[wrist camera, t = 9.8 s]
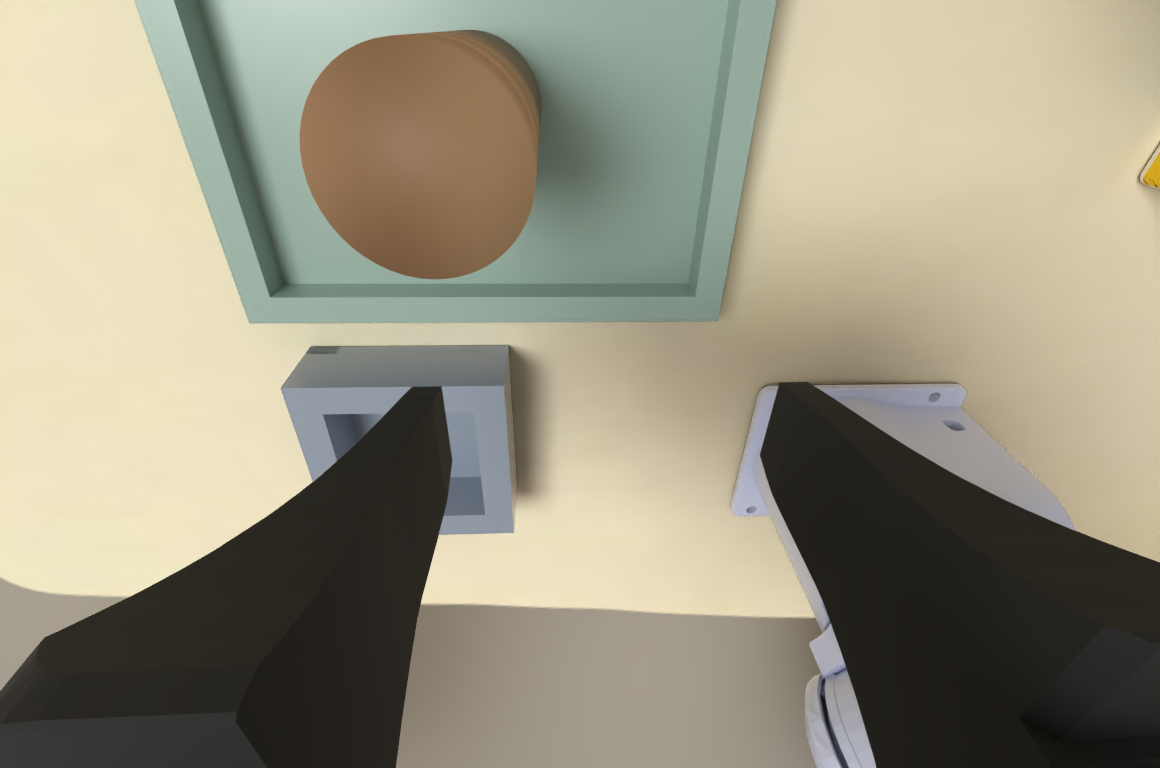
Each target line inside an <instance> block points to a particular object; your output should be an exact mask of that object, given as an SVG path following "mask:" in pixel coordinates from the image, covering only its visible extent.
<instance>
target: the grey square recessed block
mask: <svg viewBox="0 0 1160 768" xmlns="http://www.w3.org/2000/svg"><path fill="white" fill-rule="evenodd" d="M427 386H442V392H443V399H444V406H445V413H446V420H447V427H448V434H449V440H450V447H451V454H452V468H451V476H450V484H449V492H448V499H447V504H446V508H445V512H444V516H443V520H442V524H441V528H440V531H439V535H448V534H487V533H514V524H515V508H516V492H517V478H516V461H515V445H514V428H513V411H512V394H511V377H510V360H509V345H482V346H335V347H310V348H309V350H308V351H307V352H306V354H305V355H304V357H303V358H302V359H301V361H300V362H299V363H298V365H297V366H296V368H295V369H294V370H293V372H292V373H291V375H290V376H289V377H288V379H287V380H286V381H285V383H284V384H283V386H282V387H281V391H282V394H283V397H284V400H285V402H286V405H287V408H288V411H289V414H290V417H291V420H292V423H293V426H294V428H295V431H296V434H297V437H298V440H299V443H300V446H301V449H302V451H303V454H304V457H305V460H306V463H307V466H308V469H309V472H310V475H311V477H312V480H313V482H314V481H315V480H316V479H317V478H318V477H320V476H321V475H322V474H323V473H324V472H325V471H326V470H328V469H329V468H330V467H331V466H332V465H333V464H334V463H335V462H336V461H338V460H339V459H340V458H341V457H342V456H343V455H344V454H345V453H347V452H348V451H349V450H350V449H351V448H352V447H353V446H354V445H355V444H356V443H357V442H358V441H359V440H360V439H361V438H362V437H363V436H364V435H365V434H366V433H367V432H368V431H369V430H370V429H371V428H372V427H373V426H374V425H375V424H376V423H377V422H378V421H379V420H380V419H381V418H382V417H383V416H384V415H385V414H386V413H387V412H388V411H389V410H390V409H391V408H392V407H393V405H394V404H395V403H396V402H397V401H398V400H399V399H400V398H401V397H402V396H403V395H404V394H405V393H406V392H407V391H408V390H409V389H410V388H411V387H427Z"/></svg>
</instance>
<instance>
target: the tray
mask: <svg viewBox="0 0 1160 768" xmlns="http://www.w3.org/2000/svg"><path fill="white" fill-rule="evenodd" d="M134 1H135V4H136V7H137V10H138V13H139V15H140V18H141V21H142V24H143V27H144V29H145V32H146V35H147V38H148V41H149V43H150V46H151V49H152V52H153V55H154V57H155V60H156V63H157V66H158V69H159V71H160V74H161V77H162V80H163V83H164V85H165V88H166V91H167V94H168V97H169V99H170V102H171V105H172V108H173V111H174V114H175V116H176V119H177V122H178V125H179V128H180V130H181V133H182V136H183V139H184V142H185V144H186V147H187V150H188V153H189V156H190V158H191V161H192V164H193V167H194V170H195V172H196V175H197V178H198V181H199V184H200V186H201V189H202V192H203V195H204V198H205V200H206V203H207V206H208V209H209V212H210V214H211V217H212V220H213V223H214V226H215V228H216V231H217V234H218V237H219V240H220V242H221V245H222V248H223V251H224V254H225V256H226V259H227V262H228V265H229V268H230V270H231V273H232V276H233V279H234V282H235V284H236V287H237V290H238V293H239V296H240V298H241V301H242V304H243V307H244V310H245V312H246V315H247V318H248V321H249V323H446V322H671V321H718V318H719V312H720V307H721V302H722V296H723V291H724V285H725V280H726V274H727V269H728V263H729V258H730V252H731V247H732V242H733V236H734V231H735V225H736V220H737V214H738V209H739V203H740V198H741V192H742V187H743V182H744V176H745V171H746V165H747V160H748V154H749V149H750V143H751V138H752V132H753V127H754V122H755V116H756V111H757V105H758V100H759V94H760V89H761V83H762V78H763V73H764V67H765V62H766V56H767V51H768V45H769V40H770V34H771V29H772V23H773V18H774V13H775V7H776V2H777V0H134ZM456 30H479V31H484V32H488V33H491V34H494V35H496V36H498V37H500V38H502V39H503V40H505V41H506V42H508V43H509V44H511V45H512V46H513V47H514V48H515V49H516V50H517V51H518V52H519V53H520V54H521V55H522V56H523V57H524V59H525V60H526V62H527V63H528V64H529V66H530V68H531V70H532V72H533V74H534V76H535V79H536V81H537V84H538V88H539V91H540V98H541V121H540V134H539V148H538V161H537V174H536V188H535V195H534V200H533V205H532V209H531V211H530V214H529V217H528V220H527V222H526V224H525V226H524V228H523V230H522V232H521V233H520V235H519V236H518V238H517V239H516V241H515V242H514V243H513V245H512V246H511V247H510V248H509V249H508V250H507V251H506V252H505V253H504V254H503V255H502V256H500V257H499V258H498V259H497V260H496V261H494V262H493V263H491V264H489V265H488V266H486V267H484V268H483V269H480V270H478V271H476V272H474V273H471V274H468V275H464V276H461V277H456V278H449V279H422V278H415V277H410V276H406V275H402V274H399V273H396V272H393V271H390V270H388V269H386V268H384V267H382V266H379V265H377V264H376V263H374V262H372V261H371V260H369V259H367V258H366V257H364V256H363V255H361V254H360V253H359V252H357V251H356V250H355V249H353V248H352V247H351V246H350V245H349V244H348V243H347V242H346V241H345V240H343V239H342V238H341V237H340V236H339V234H338V233H337V232H336V231H335V230H334V229H333V228H332V226H331V225H330V224H329V222H328V221H327V220H326V218H325V217H324V215H323V214H322V212H321V211H320V209H319V207H318V205H317V204H316V202H315V200H314V198H313V196H312V193H311V191H310V189H309V186H308V184H307V181H306V177H305V174H304V170H303V167H302V160H301V154H300V125H301V117H302V113H303V109H304V105H305V102H306V99H307V97H308V95H309V92H310V90H311V88H312V86H313V84H314V83H315V81H316V80H317V78H318V76H319V75H320V73H321V72H322V71H323V70H324V69H325V68H326V67H327V66H328V64H329V63H330V62H331V61H332V60H334V59H335V58H336V57H337V56H339V55H340V54H341V53H342V52H344V51H346V50H347V49H349V48H351V47H353V46H355V45H356V44H359V43H361V42H364V41H367V40H370V39H373V38H378V37H384V36H390V35H403V34H416V33H430V32H443V31H456Z"/></svg>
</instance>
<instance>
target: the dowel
mask: <svg viewBox="0 0 1160 768" xmlns="http://www.w3.org/2000/svg"><path fill="white" fill-rule="evenodd" d="M540 121H541V98H540V91H539V88H538V84H537V81H536V79H535V76H534V74H533V72H532V70H531V68H530V66H529V64H528V63H527V62H526V60H525V59H524V57H523V56H522V55H521V54H520V53H519V52H518V51H517V50H516V49H515V48H514V47H513V46H512V45H511V44H509V43H508V42H506V41H505V40H503V39H502V38H500V37H498V36H496V35H494V34H491V33H488V32H484V31H479V30H456V31H443V32H430V33H416V34H403V35H390V36H384V37H378V38H373V39H370V40H367V41H364V42H361V43H359V44H356V45H355V46H353V47H351V48H349V49H347V50H346V51H344V52H342V53H341V54H340V55H339V56H337V57H336V58H335V59H334V60H332V61H331V62H330V63H329V64H328V66H327V67H326V68H325V69H324V70H323V71H322V72H321V73H320V75H319V76H318V78H317V80H316V81H315V83H314V84H313V86H312V88H311V90H310V92H309V95H308V97H307V99H306V102H305V105H304V109H303V113H302V117H301V125H300V154H301V160H302V167H303V170H304V174H305V177H306V181H307V184H308V186H309V189H310V191H311V193H312V196H313V198H314V200H315V202H316V204H317V205H318V207H319V209H320V211H321V212H322V214H323V215H324V217H325V218H326V220H327V221H328V222H329V224H330V225H331V226H332V228H333V229H334V230H335V231H336V232H337V233H338V234H339V236H340V237H341V238H342V239H343V240H345V241H346V242H347V243H348V244H349V245H350V246H351V247H352V248H353V249H355V250H356V251H357V252H359V253H360V254H361V255H363V256H364V257H366V258H367V259H369V260H371V261H372V262H374V263H376V264H377V265H379V266H382V267H384V268H386V269H388V270H390V271H393V272H396V273H399V274H402V275H406V276H410V277H415V278H422V279H449V278H456V277H461V276H464V275H468V274H471V273H474V272H476V271H478V270H480V269H483V268H484V267H486V266H488V265H489V264H491V263H493V262H494V261H496V260H497V259H498V258H499V257H500V256H502V255H503V254H504V253H505V252H506V251H507V250H508V249H509V248H510V247H511V246H512V245H513V243H514V242H515V241H516V239H517V238H518V236H519V235H520V233H521V232H522V230H523V228H524V226H525V224H526V222H527V220H528V217H529V214H530V211H531V209H532V205H533V200H534V195H535V188H536V174H537V161H538V148H539V134H540Z"/></svg>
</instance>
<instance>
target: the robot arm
mask: <svg viewBox="0 0 1160 768" xmlns="http://www.w3.org/2000/svg"><path fill="white" fill-rule="evenodd" d="M933 393H934V394H933ZM931 394H933V395H932V396H930V395H931ZM966 394H967V392H966V389H964V388H963V387H962V386H961V385H960V384H871V385H811V384H809V383H807V382H792V383H779V386H767V387H765V388H763V389H762V390H761V391H760V392H759V394H758V398H757V402H756V406H755V410H754V414H753V418H752V422H751V426H750V430H749V434H748V437H747V441H746V445H745V449H744V453H743V457H742V461H741V465H740V469H739V473H738V477H737V481H736V485H735V489H734V493H733V497H732V501H731V505H730V506H731V510H732V513H733V514H734V515H736V516H766V515H770V518H771V520H772V522H773V524H774V526H775V529H776V531H777V533H778V535H779V537H780V540H781V542H782V544H783V546H784V549H785V551H786V553H787V555H788V557H789V560H790V562H791V564H792V566H793V568H794V571H795V573H796V575H797V577H798V579H799V582H800V584H801V586H802V588H803V591H804V593H805V595H806V597H807V599H808V602H809V604H810V606H811V608H812V610H813V613H814V615H815V617H816V619H817V621H818V624H819V626H820V628H821V630H822V633H823V634H822V635H820V636H819V637H818V638H816V639H815V640H813V641H812V642H810V644H809V645H810V648H811V650H812V652H813V655H814V657H815V659H816V662H817V664H818V667H819V669H820V671H821V673H820V674H818V675H816V676H814V677H813V678H812V679H811V680H810V681H809V682H808V684H807V687H806V694H805V708H806V711H805V724H806V731H807V736H808V740H809V745H810V748H811V751H812V755H813V757H814V761H815V763H816V766H817V768H1160V562H1157V561H1154V560H1151V559H1148V558H1146V557H1143V556H1140V555H1137V554H1135V553H1132V552H1129V551H1127V550H1124V549H1121V548H1118V547H1116V546H1113V545H1110V544H1108V543H1105V542H1102V541H1100V540H1097V539H1095V538H1092V537H1090V536H1087V535H1085V534H1082V533H1080V532H1077V531H1076V530H1075V528H1074V526H1073V523H1072V521H1071V519H1070V517H1069V516H1068V514H1067V512H1066V511H1065V509H1064V507H1063V506H1062V505H1061V503H1060V502H1059V501H1058V499H1057V498H1056V497H1055V496H1054V495H1053V494H1052V493H1051V492H1050V491H1049V490H1048V489H1047V488H1046V487H1045V486H1044V485H1043V484H1042V483H1041V482H1040V481H1039V480H1038V479H1037V478H1036V477H1034V476H1033V475H1032V474H1031V473H1030V472H1029V471H1028V470H1027V469H1026V468H1025V467H1024V466H1023V465H1022V464H1021V463H1019V462H1018V461H1017V460H1016V459H1015V458H1014V457H1013V456H1012V455H1011V454H1010V453H1009V452H1008V451H1007V450H1006V449H1004V448H1003V447H1002V446H1001V445H1000V444H999V443H998V442H997V441H996V440H995V439H994V438H993V437H992V436H990V435H989V434H988V433H987V432H986V431H985V430H984V429H983V428H982V427H981V426H980V425H979V424H978V423H977V422H975V421H974V420H973V419H972V418H971V417H970V416H969V415H968V414H967V413H966V412H965V411H964V410H963V409H962V408H960V407H961V405H962V403H963V401H964V399H965V397H966ZM451 468H452V454H451V447H450V440H449V434H448V427H447V420H446V413H445V406H444V399H443V392H442V386H427V387H411V388H410V389H409V390H408V391H407V392H406V393H405V394H404V395H403V396H402V397H401V398H400V399H399V400H398V401H397V402H396V403H395V404H394V405H393V407H392V408H391V409H390V410H389V411H388V412H387V413H386V414H385V415H384V416H383V417H382V418H381V419H380V420H379V421H378V422H377V423H376V424H375V425H374V426H373V427H372V428H371V429H370V430H369V431H368V432H367V433H366V434H365V435H364V436H363V437H362V438H361V439H360V440H359V441H358V442H357V443H356V444H355V445H354V446H353V447H352V448H351V449H350V450H349V451H348V452H347V453H345V454H344V455H343V456H342V457H341V458H340V459H339V460H338V461H336V462H335V463H334V464H333V465H332V466H331V467H330V468H329V469H328V470H326V471H325V472H324V473H323V474H322V475H321V476H320V477H318V478H317V479H316V480H315V481H314V482H312V483H311V484H310V485H309V486H307V487H306V488H305V489H303V490H302V491H301V492H300V493H298V494H297V495H296V496H294V497H293V498H292V499H290V500H289V501H288V502H286V503H285V504H284V505H282V506H281V507H279V508H278V509H277V510H275V511H274V512H273V513H271V514H270V515H268V516H267V517H265V518H264V519H262V520H261V521H259V522H258V523H256V524H255V525H253V526H252V527H250V528H248V529H247V530H245V531H244V532H242V533H241V534H239V535H238V536H236V537H235V538H233V539H231V540H230V541H228V542H227V543H225V544H224V545H222V546H221V547H219V548H218V549H216V550H214V551H213V552H211V553H209V554H207V555H206V556H204V557H202V558H201V559H199V560H197V561H195V562H194V563H192V564H190V565H188V566H187V567H185V568H183V569H181V570H180V571H178V572H176V573H174V574H172V575H170V576H169V577H167V578H165V579H163V580H161V581H159V582H158V583H156V584H154V585H152V586H150V587H148V588H146V589H144V590H142V591H140V592H139V593H137V594H135V595H133V596H131V597H129V598H127V599H125V600H123V601H121V602H118V603H116V604H114V605H112V606H110V607H108V608H106V609H104V610H102V611H100V612H98V613H96V614H94V615H92V616H89V617H87V618H85V619H83V620H81V621H79V622H77V623H75V624H73V625H71V626H69V627H67V628H65V629H62V630H60V631H58V632H56V633H54V634H51V635H49V636H47V637H45V638H44V639H43V640H42V641H41V642H40V644H39V645H38V646H37V647H36V648H35V649H34V651H33V652H32V653H31V654H30V655H29V657H28V658H27V659H26V660H25V662H24V663H23V664H22V665H21V667H20V668H19V669H18V670H17V671H16V673H15V674H14V675H13V676H12V678H11V679H10V680H9V681H8V683H7V684H6V685H5V686H4V687H3V689H2V690H1V691H0V768H396V760H397V753H398V746H399V738H400V737H399V736H400V730H401V722H402V715H403V708H404V701H405V694H406V687H407V680H408V673H409V667H410V660H411V654H412V647H413V641H414V636H415V629H416V622H417V617H418V613H419V608H420V604H421V599H422V595H423V591H424V588H425V584H426V580H427V576H428V573H429V569H430V565H431V561H432V558H433V554H434V550H435V547H436V543H437V539H438V535H439V531H440V528H441V524H442V520H443V516H444V512H445V508H446V504H447V499H448V492H449V484H450V476H451ZM751 506H752V507H751Z"/></svg>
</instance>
